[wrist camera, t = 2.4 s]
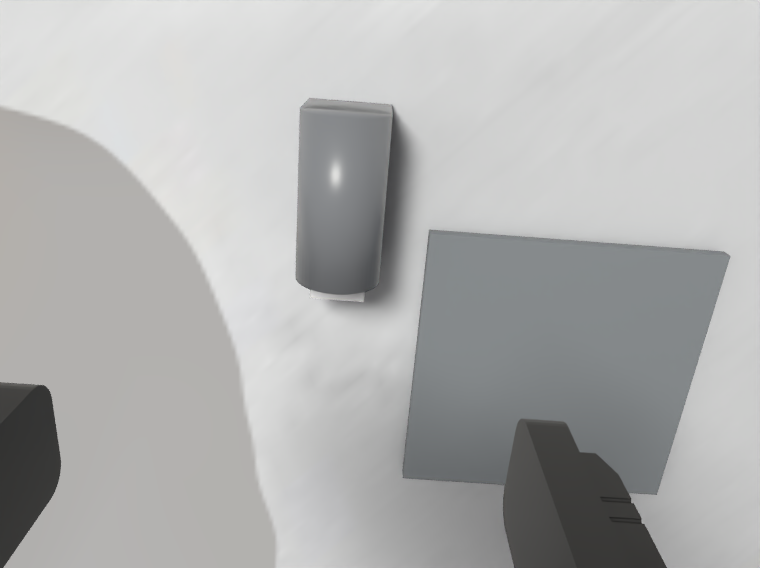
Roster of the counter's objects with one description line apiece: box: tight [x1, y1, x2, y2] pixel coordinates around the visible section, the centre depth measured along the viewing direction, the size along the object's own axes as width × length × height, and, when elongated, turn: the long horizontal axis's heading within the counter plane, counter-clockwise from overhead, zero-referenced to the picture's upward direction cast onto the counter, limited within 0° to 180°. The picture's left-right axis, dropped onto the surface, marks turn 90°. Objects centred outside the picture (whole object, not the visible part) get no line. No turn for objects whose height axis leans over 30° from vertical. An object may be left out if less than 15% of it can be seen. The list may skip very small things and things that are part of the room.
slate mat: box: [403, 230, 730, 495], centre depth 32 cm, size 14×14×1 cm
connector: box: [296, 98, 393, 302], centre depth 27 cm, size 4×8×5 cm, turn 176°
